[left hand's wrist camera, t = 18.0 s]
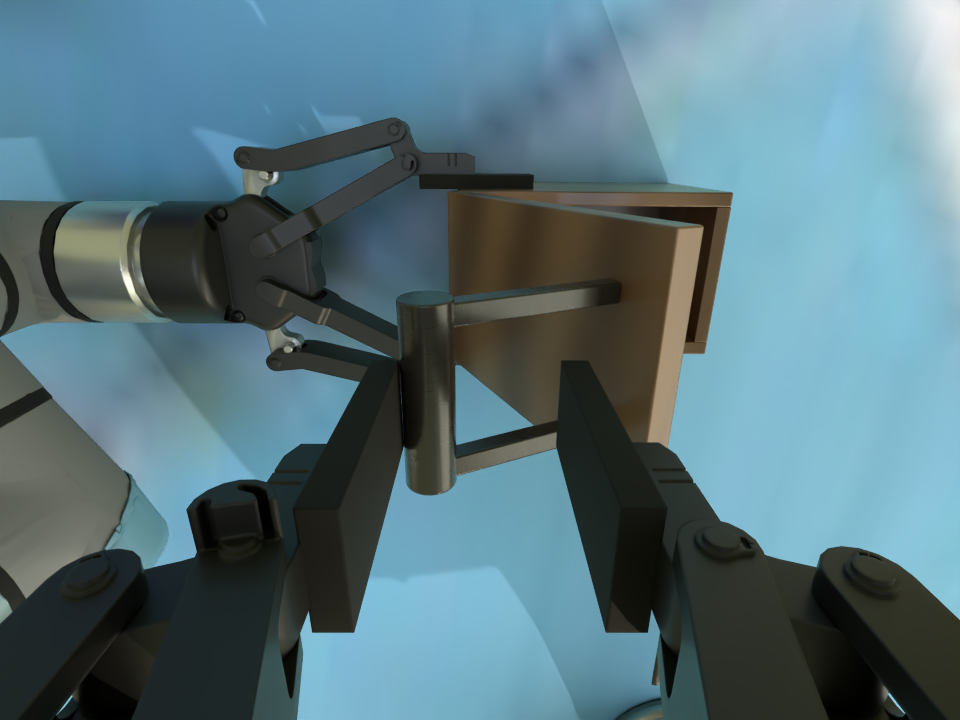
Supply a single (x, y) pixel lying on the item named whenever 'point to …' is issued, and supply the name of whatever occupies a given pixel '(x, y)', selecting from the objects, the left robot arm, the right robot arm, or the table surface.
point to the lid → (543, 326)
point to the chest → (659, 204)
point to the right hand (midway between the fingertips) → (527, 265)
